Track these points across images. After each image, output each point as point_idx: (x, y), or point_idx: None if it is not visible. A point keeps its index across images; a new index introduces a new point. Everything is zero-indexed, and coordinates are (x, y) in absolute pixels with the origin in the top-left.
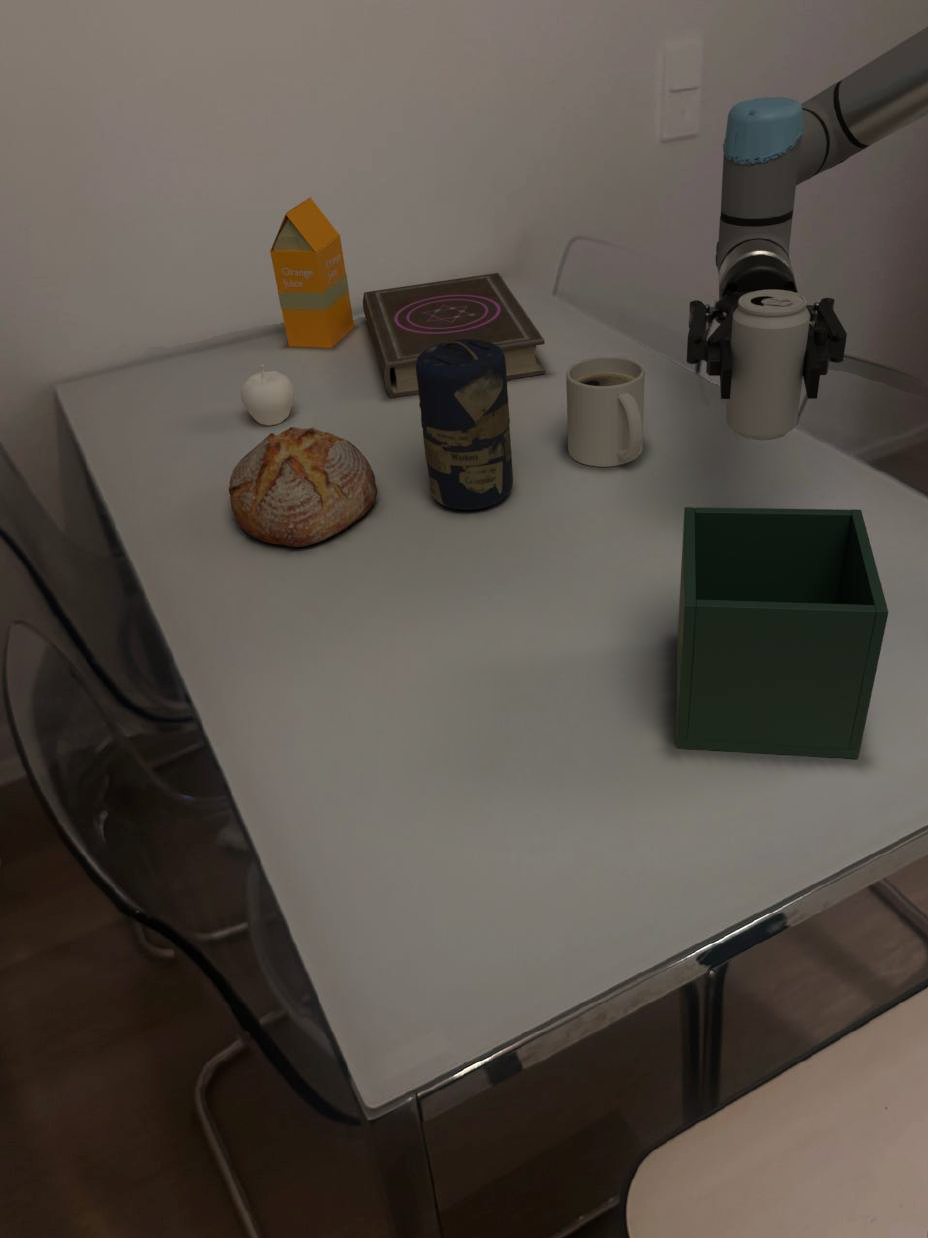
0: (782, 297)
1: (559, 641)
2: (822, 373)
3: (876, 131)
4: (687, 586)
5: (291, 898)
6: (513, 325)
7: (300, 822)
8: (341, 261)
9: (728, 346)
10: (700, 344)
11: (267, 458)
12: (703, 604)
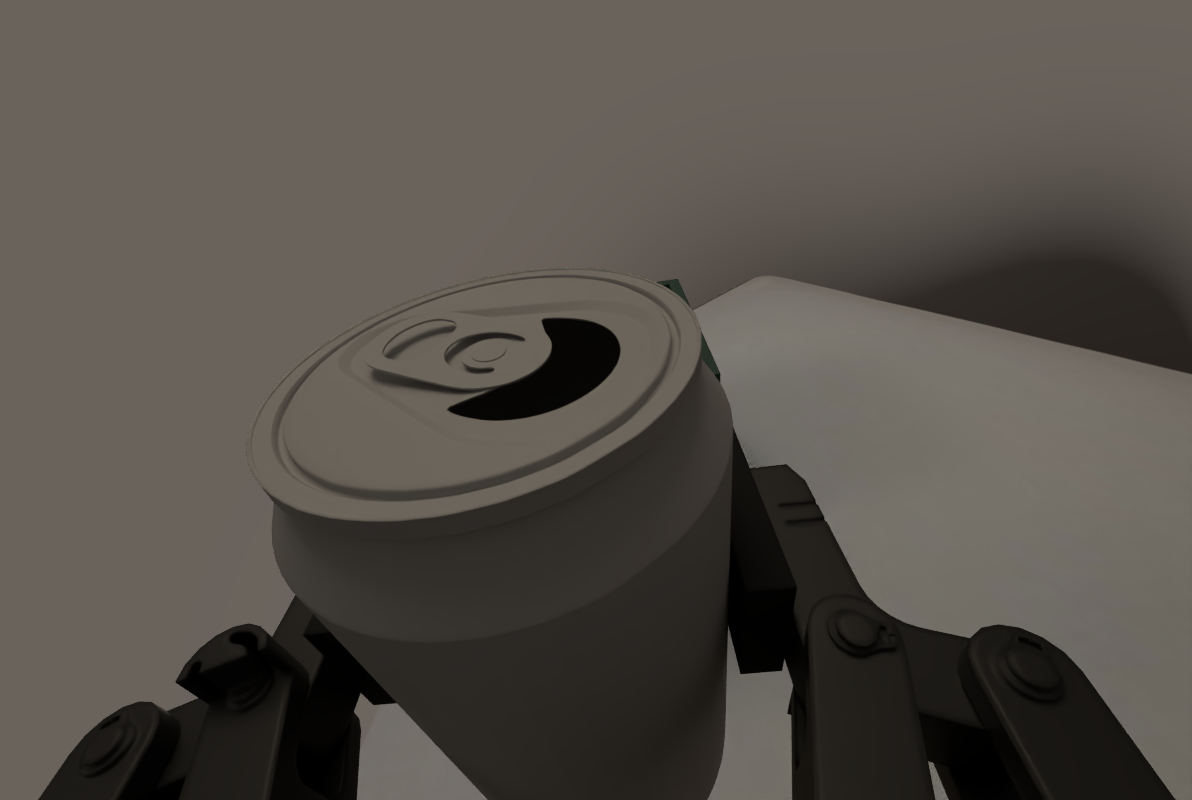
0: (397, 404)
1: (869, 516)
2: None
3: None
4: (680, 290)
5: (879, 302)
6: None
7: (926, 327)
8: None
9: (732, 511)
10: (934, 637)
11: None
12: (661, 281)
